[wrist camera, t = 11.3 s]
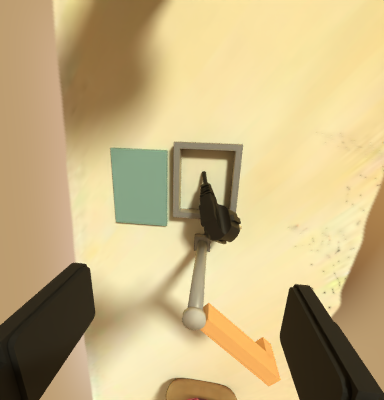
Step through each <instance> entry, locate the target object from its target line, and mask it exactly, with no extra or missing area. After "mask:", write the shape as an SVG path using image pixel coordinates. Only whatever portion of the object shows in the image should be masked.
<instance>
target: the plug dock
mask: <svg viewBox="0 0 384 400" xmlns="http://www.w3.org/2000/svg"><path fill="white" fill-rule="evenodd" d="M182 149H204V150H227V151H235V153H234V163H233V174H232V184H231V195H230V205H229V209H230V210H232V211H233V212H235V213H236V207H237V197H238V188H239V178H240V169H241V159H242V150H243V145H242V144H220V143H196V142H174V175H173V217H181V218H195V219H200V211H199V210H195V209H181V208H180V203H181V158H182ZM194 250H195V251H196V257H195V263H194V270H193V276H192V283H191V289H190V296H189V302H188V308H190V307H197V308H200V309H201V310H203V300H204V284H205V268H206V253H207V252H210V239H208V238H207V237H206V236H205V235H202V234H195V242H194Z"/></svg>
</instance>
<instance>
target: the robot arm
mask: <svg viewBox="0 0 384 400" xmlns="http://www.w3.org/2000/svg"><path fill="white" fill-rule="evenodd" d="M94 316H95V306H94V298H93V290H92V282H91V273H90V268H89V267H87V265H86V264H82V263H72V264H70V265H69V266H68V267H67V268H66V269H65V270H63V272H61V273H60V274H59V275H58V276H57V277H55V278H54V279H53V280H52V281H51V282H50V283H49V284H47V285H46V286H45V287H44V288H43V289H42V290H41V291H39V292H38V293H37V294H36V295H35V296H34V297H33V298H31V299H30V300H29V301H28V302H27V303H25V304H24V305H23V306H22V307H21V308H20V309H19V310H17V311H16V312H15V313H14V314H13V315H12V316H10V317H9V318H8V319H7V320H6V321H5V322H4V323H2V324H1V325H0V400H39V399H40V398H41V396H42V395H43V393H44V392H45V390H46V389H47V387H48V386H49V384H50V383H51V381H52V380H53V378H54V377H55V375H56V374H57V373H58V371H59V370H60V368H61V367H62V365H63V363H64V362H65V360H66V359H67V358H68V356H69V355H70V353H71V352H72V350H73V348H74V347H75V346H76V344H77V343H78V341H79V340H80V338H81V337H82V335H83V334H84V332H85V331H86V329H87V328H88V326H89V325H90V323H91V322H92V320H93V319H94ZM280 341H281V345H282V348H283V351H284V354H285V357H286V360H287V363H288V366H289V369H290V372H291V375H292V378H293V381H294V384H295V387H296V390H297V393H298V396H299V399H300V400H384V393H383V391H382V390H381V388H380V387H379V385H378V384H377V382H376V381H375V379H374V378H373V376H372V375H371V373H370V372H369V370H368V369H367V367H366V366H365V364H364V363H363V362H362V360H361V359H360V357H359V356H358V354H357V353H356V351H355V350H354V348H353V347H352V345H351V344H350V342H349V341H348V339H347V338H346V336H345V335H344V333H343V332H342V330H341V329H340V327H339V326H338V325H337V324H336V323H335V322H333V320H332V318H331V317H330V315H329V314H328V312H327V311H326V309H325V308H324V306H323V305H322V303H321V302H320V300H319V299H318V297H317V296H316V294H315V293H314V291H313V290H312V288H311V287H310V286H308V285H298V284H295V285H294V286H293V287H290V289H289V293H288V297H287V302H286V307H285V312H284V317H283V321H282V326H281V331H280Z"/></svg>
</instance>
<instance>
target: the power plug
mask: <svg viewBox="0 0 384 400" xmlns="http://www.w3.org/2000/svg"><path fill="white" fill-rule="evenodd" d="M202 176H203V185H201V190H200V191H201V192H200V194H201V195H200V197H201V198H200V206H199V211H200V219H201V225H202V226H203V227H204V231H205V236H206V237H207V238H208V239H210V240H212V241H215V242H218V243H221V244H226V241H228V242H232V241H233V240H234V239H235V238H236V237H237V236H238V234H239V232H240V230H241V229H242V227H241V226H240V225H239V224H241V222H240V218H238V217H237V214H236V213H235V212H233V211H232V210H230V209H228V208H226V207H225V206H222V205H219V204H217V200H216V197H215V196H214V193H213V190H212V188H211V185H210V184H209V183H208V182H207V177H206V172H205V171H203V172H202Z"/></svg>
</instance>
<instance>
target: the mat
mask: <svg viewBox="0 0 384 400" xmlns="http://www.w3.org/2000/svg"><path fill="white" fill-rule="evenodd" d="M110 149H111V162H112V175H113V188H114V202H115V215H116V222H122V223H135V224H148V225H161V226H167V150H149V149H126V148H110Z"/></svg>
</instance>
